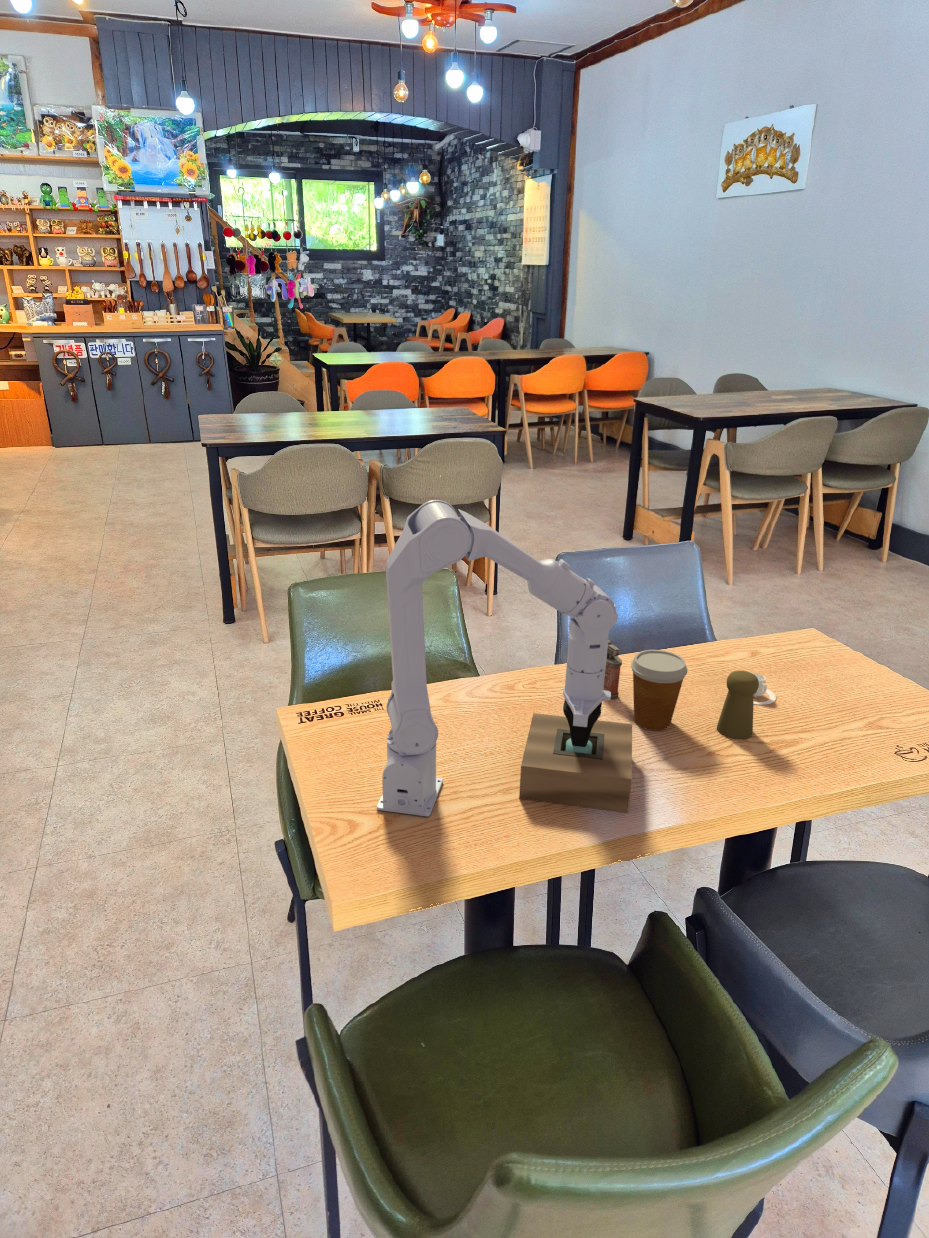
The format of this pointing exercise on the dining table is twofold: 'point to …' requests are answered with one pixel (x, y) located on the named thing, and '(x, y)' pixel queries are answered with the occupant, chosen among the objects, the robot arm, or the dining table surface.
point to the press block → (577, 765)
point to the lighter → (612, 671)
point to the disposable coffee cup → (656, 687)
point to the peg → (579, 749)
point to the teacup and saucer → (763, 689)
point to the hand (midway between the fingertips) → (579, 744)
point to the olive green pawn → (738, 706)
